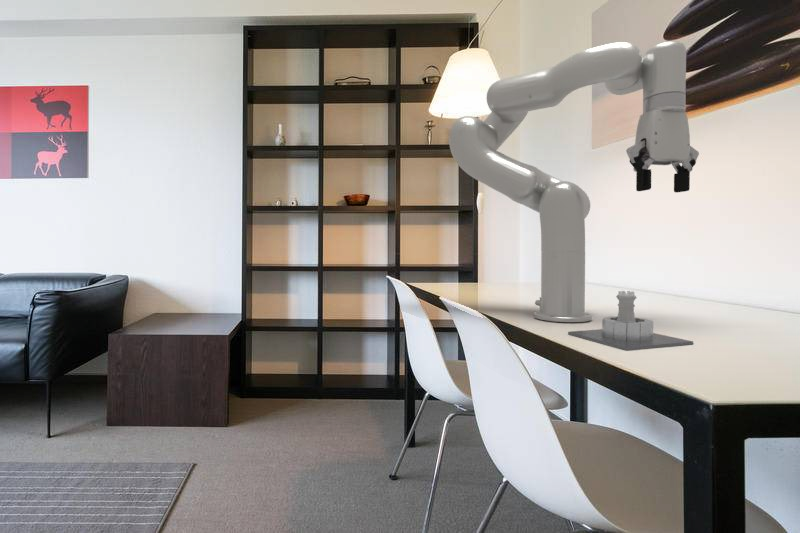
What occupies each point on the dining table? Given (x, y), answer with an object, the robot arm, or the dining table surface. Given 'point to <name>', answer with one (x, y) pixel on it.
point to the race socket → (629, 335)
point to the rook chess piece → (626, 306)
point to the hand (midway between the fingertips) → (662, 191)
